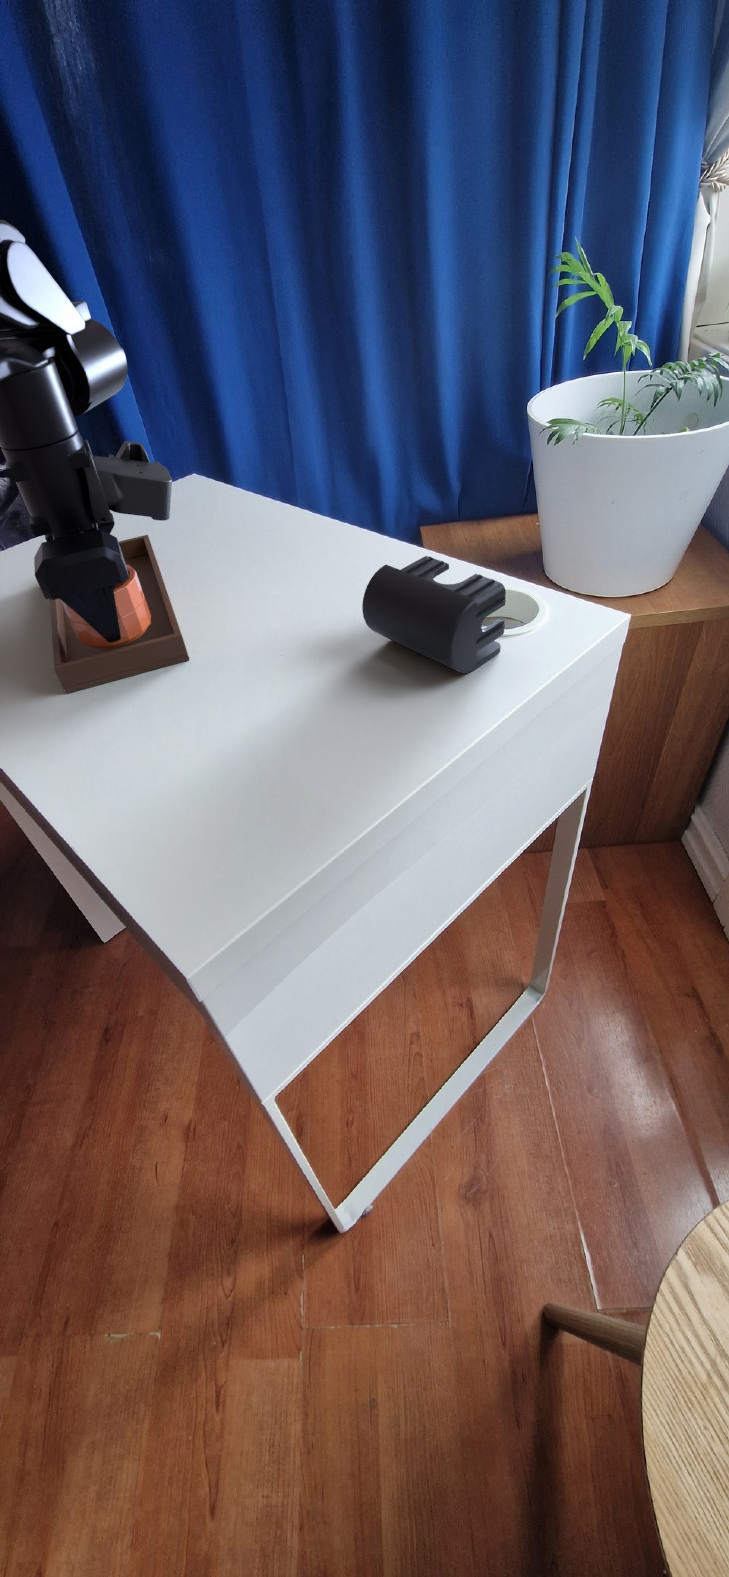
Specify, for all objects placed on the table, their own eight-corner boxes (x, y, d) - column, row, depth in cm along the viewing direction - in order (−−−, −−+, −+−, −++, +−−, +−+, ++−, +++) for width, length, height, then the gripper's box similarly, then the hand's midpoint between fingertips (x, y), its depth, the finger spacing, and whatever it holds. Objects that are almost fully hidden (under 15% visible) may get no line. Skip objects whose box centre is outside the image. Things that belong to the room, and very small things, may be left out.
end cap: (365, 649, 62) (356, 578, 57) (421, 616, 65) (417, 545, 60) (450, 692, 56) (449, 616, 51) (507, 653, 59) (511, 578, 54)
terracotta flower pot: (95, 660, 61) (73, 608, 57) (69, 632, 65) (47, 581, 61) (164, 631, 63) (147, 579, 60) (135, 605, 67) (117, 556, 64)
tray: (189, 660, 63) (181, 634, 61) (65, 694, 61) (53, 669, 59) (154, 556, 80) (147, 534, 78) (56, 580, 78) (47, 558, 76)
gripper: (163, 449, 47) (219, 648, 58) (133, 388, 61) (183, 560, 71) (-8, 486, 45) (83, 685, 56) (0, 415, 59) (72, 587, 69)
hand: (111, 622), depth 63 cm, fingers closed on terracotta flower pot, 7 cm apart
